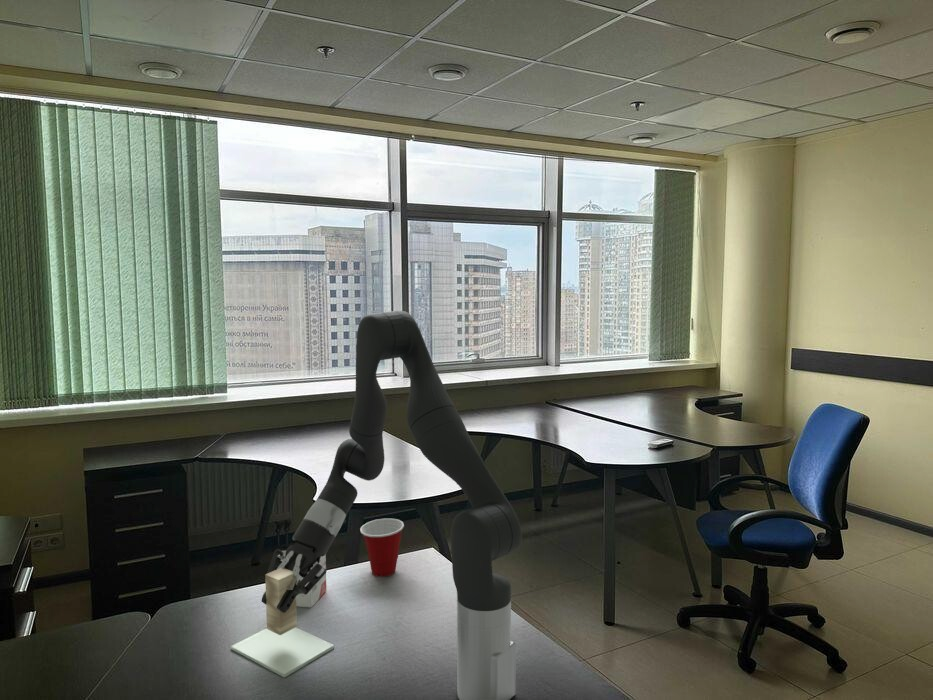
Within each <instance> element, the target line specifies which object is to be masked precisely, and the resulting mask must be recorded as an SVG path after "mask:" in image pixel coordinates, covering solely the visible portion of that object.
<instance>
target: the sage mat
mask: <svg viewBox="0 0 933 700" xmlns="http://www.w3.org/2000/svg"><path fill="white" fill-rule="evenodd" d="M334 648H335V644H332V643H331V642H329V641H325V640H324V639H322V638H320V637H318V636H315V635H314V634H311V633H309V632H307V631H304V630H302V629H299V628H298V627H295V628H293V629H291V630H289V631H288V632H286V633H284V634H282V635H278V634H276V633H274V632H272V631H270V630H268V629H267V627H266V628H264V629H262V630H261V631H258V632H257V633H255V634H252V635H251V636H249V637H246V638H245V639H243V640H241V641H238V642H237V643H234V644H233V645H231V646H230V649H231V650H232V651H234V652H235V653H238V654H239V655H242V656H243V657H244V658H247V659H249V660H250V661H252V662H254V663H256V664H258V665H260V666H262V667H263V668H266V669H267V670H269V671H271V672H273V673H276V675H279V676H280V677H283V678H286V677H288V676H290V675H292V674H293V673H295V672H296V671H298V670H299V669H301V668H303V667H305V666H306V665H308V664H310V663H311V662H313V661H315V660H316V659H319V658H320V657H321V656H323V655H325V654H326V653H328V652H329V651H332V650H333V649H334Z"/></svg>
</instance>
